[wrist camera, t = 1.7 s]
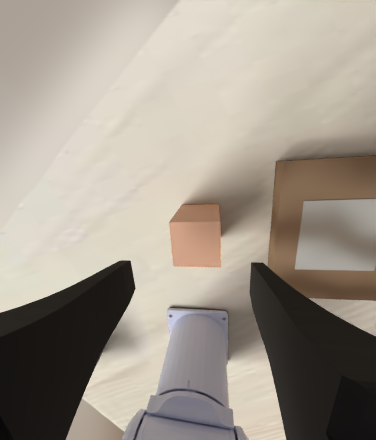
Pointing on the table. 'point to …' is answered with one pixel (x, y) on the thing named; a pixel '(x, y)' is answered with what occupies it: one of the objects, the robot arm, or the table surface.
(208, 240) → the terracotta block
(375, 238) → the base board
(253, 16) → the table surface
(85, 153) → the table surface
